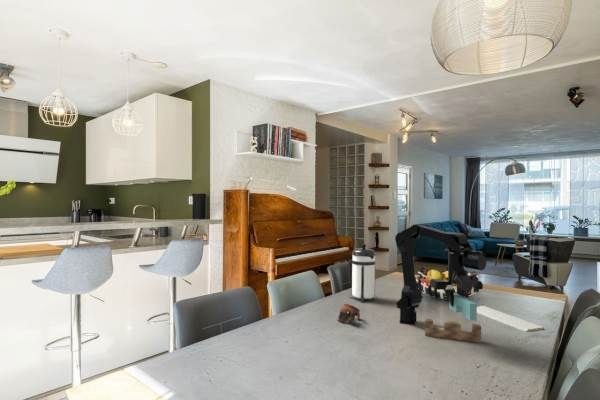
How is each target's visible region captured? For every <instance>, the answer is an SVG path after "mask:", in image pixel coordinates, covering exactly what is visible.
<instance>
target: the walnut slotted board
mask: <svg viewBox="0 0 600 400" xmlns="http://www.w3.org/2000/svg"><path fill="white" fill-rule="evenodd" d="M424 336H426V337H435V338H440V337H442V338H441V339H448V338H449V339H450V340H455V339H457V340H456V341H463V340H465V342H471V341H472V342H471V343H473V342H474V343H479V344H481V343H482V325H481V324H477V323H472V324H471V331H470V330H463V329H462V324H461V322H459V321H451V320H443V327H437V326H434V319H432V318H424ZM449 339H448V340H449Z"/></svg>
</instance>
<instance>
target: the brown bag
mask: <svg viewBox="0 0 600 400" xmlns="http://www.w3.org/2000/svg"><path fill="white" fill-rule="evenodd" d="M360 311H361V310H360V308H357V307H356V306H354V305H352V304H349V303H344V305H343V306H342V307H341V308H340V310H339V315H338V316H337V321H338V322H340V323H343V324H345V325H346V324H347V322H349V323H353V322H354V320H355V317H357V321H359V320H361V319H360V318H361V314H360Z"/></svg>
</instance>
